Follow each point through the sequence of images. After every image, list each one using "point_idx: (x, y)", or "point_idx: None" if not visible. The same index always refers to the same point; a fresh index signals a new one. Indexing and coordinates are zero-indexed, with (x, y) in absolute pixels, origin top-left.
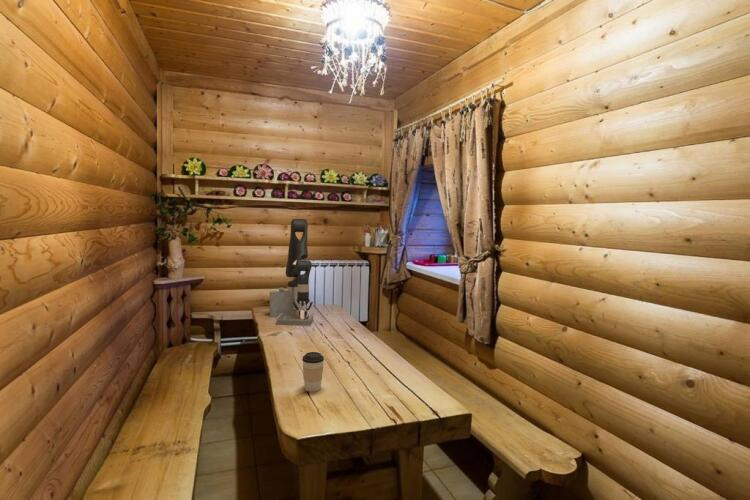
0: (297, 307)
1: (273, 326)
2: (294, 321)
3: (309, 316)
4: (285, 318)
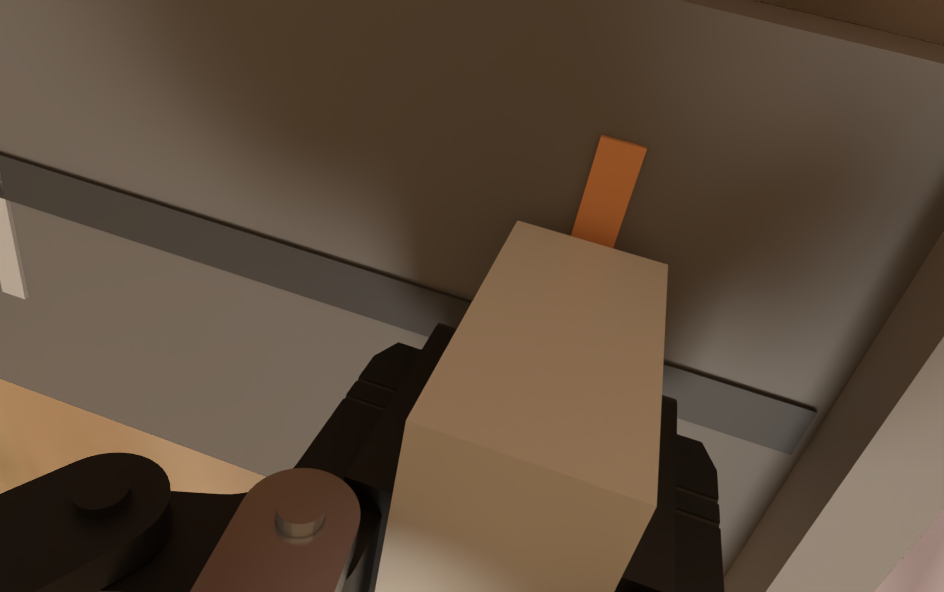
0: (51, 578)
1: (3, 382)
2: None
3: (934, 64)
4: (30, 228)
